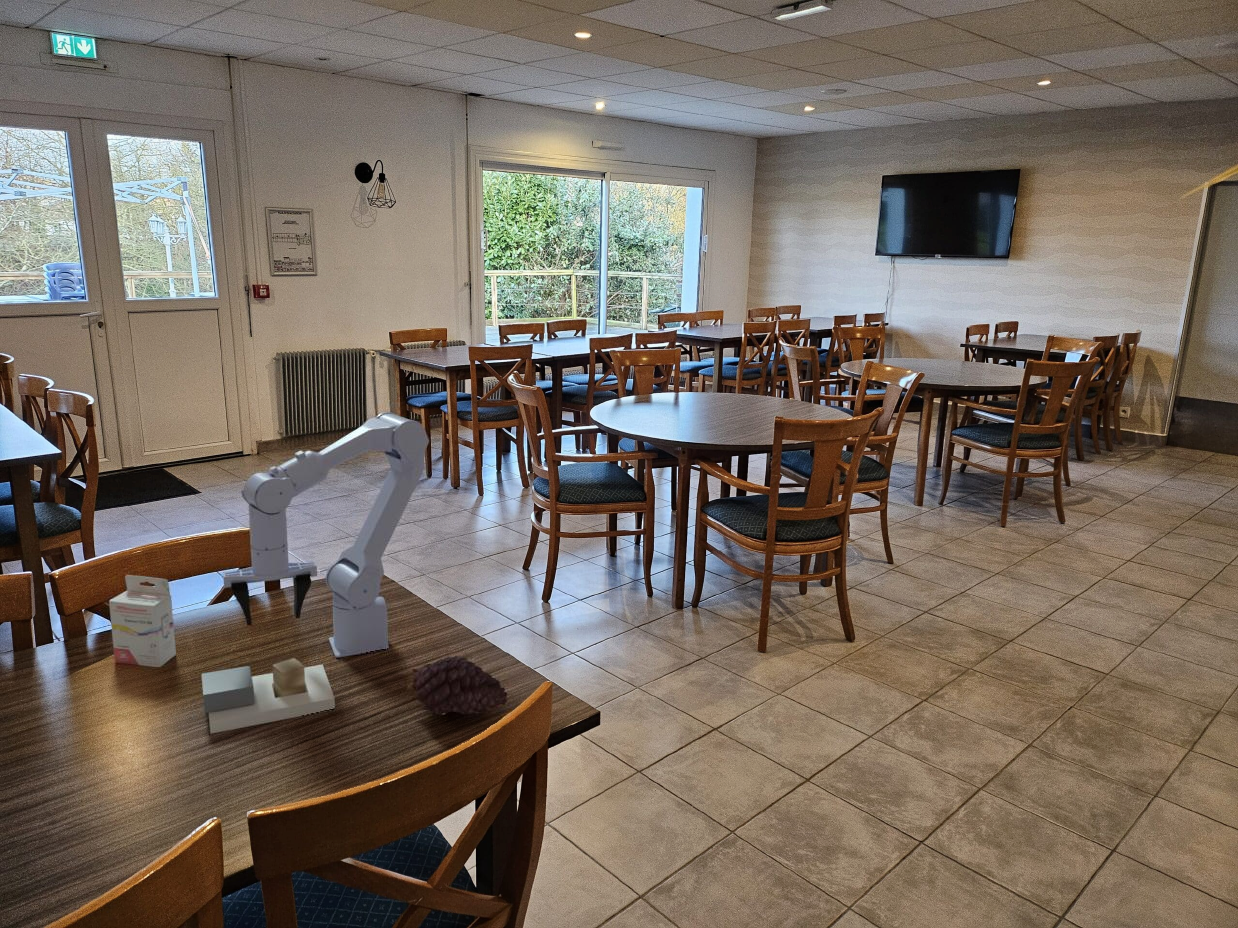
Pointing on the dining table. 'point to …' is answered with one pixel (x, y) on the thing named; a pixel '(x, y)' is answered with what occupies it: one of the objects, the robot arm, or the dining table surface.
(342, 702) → the dining table surface
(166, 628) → the ink cartridge box
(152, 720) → the dining table surface
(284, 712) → the socket plate
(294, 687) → the maple peg
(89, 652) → the dining table surface
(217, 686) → the grey cover
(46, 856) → the dining table surface
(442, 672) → the pine cone
